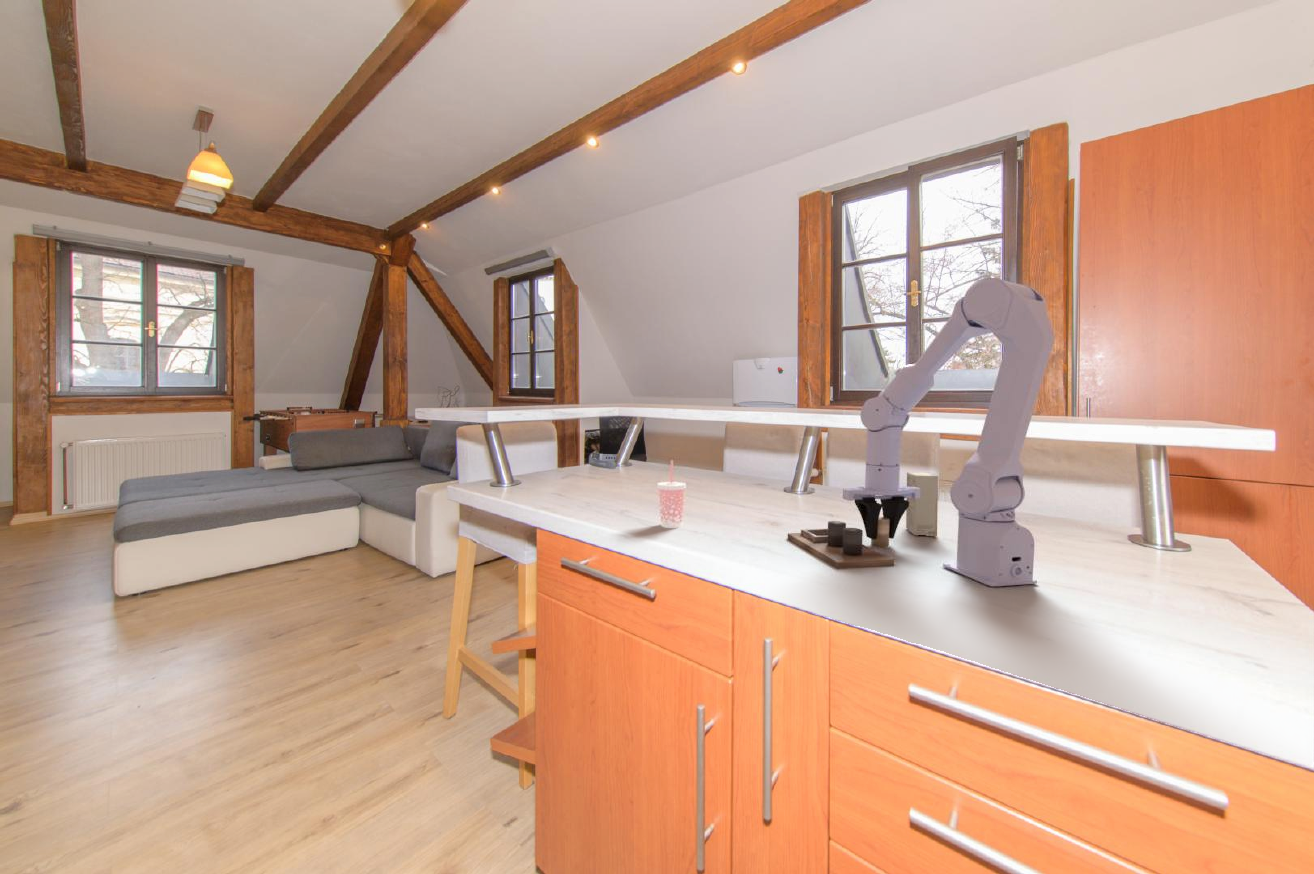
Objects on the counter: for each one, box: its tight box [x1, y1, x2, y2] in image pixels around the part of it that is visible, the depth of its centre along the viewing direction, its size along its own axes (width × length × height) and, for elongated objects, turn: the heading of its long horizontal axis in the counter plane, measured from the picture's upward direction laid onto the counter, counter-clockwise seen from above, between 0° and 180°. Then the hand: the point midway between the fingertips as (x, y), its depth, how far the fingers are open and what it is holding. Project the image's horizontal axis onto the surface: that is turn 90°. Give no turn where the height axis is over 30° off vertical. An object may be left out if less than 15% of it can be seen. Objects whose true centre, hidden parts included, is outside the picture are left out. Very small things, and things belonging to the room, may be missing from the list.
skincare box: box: [905, 471, 939, 537], centre depth 101 cm, size 6×4×12 cm
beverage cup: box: [656, 459, 687, 529], centre depth 106 cm, size 6×6×14 cm
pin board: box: [787, 520, 895, 569], centre depth 88 cm, size 18×10×5 cm, turn 11°
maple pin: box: [870, 516, 890, 548], centre depth 92 cm, size 3×3×5 cm
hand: (880, 537), depth 92 cm, fingers closed on maple pin, 3 cm apart
